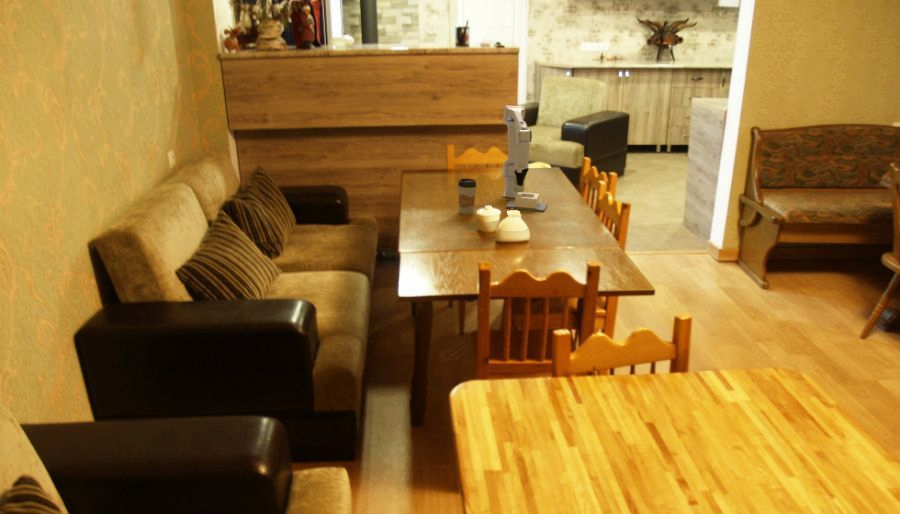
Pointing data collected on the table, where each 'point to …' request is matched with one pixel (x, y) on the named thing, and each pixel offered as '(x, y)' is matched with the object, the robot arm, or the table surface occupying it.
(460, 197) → the coffee cup
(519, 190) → the peg
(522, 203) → the well
